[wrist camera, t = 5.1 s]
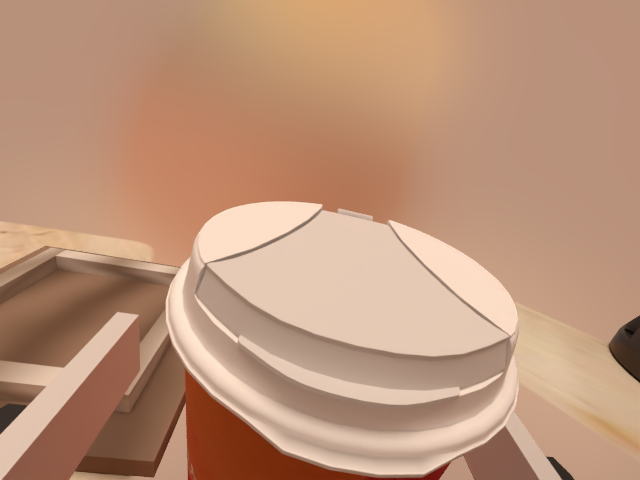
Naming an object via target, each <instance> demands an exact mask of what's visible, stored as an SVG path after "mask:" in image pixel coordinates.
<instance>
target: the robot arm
mask: <svg viewBox="0 0 640 480" xmlns="http://www.w3.org/2000/svg"><path fill="white" fill-rule="evenodd" d="M610 349H611V351H612V353H613V354H614V356H615V357H616V358H617V360H618V361H619V362H620V363H621V364H622V365H623V366H624V367H625V368H626V369H627V370H628V371H629V372H630V373H632V374H633V375H634V376H635V377H636V378H638V379H639V380H640V316H638V317H636V318H635V319H633V320H632V321H630V322H628V323H627V324H625V325H624V326H622V327H621V328H620V329H619V330H618V332H617V333H616V335H615V336H614V337H613V339H612V340H611V342H610ZM139 371H140V339H139V315H136V314H129V313H121V312H117V313H116V314H115V315H114V316H113V317H112V318H111V319H110V320H109V321H108V322H107V323H106V324H105V326H104V327H103V328H102V329H101V330H100V331H99V332H98V333H97V334H96V335H95V336H94V337H93V338H92V339H91V340H90V341H89V342H88V343H87V344H86V345H85V346H84V348H83V349H82V350H81V351H80V352H79V353H78V354H77V355H76V356H75V357H74V358H73V359H72V360H71V361H70V362H69V363H68V364H67V365H66V366H65V367H64V369H63V370H62V371H61V372H60V373H59V374H58V375H57V376H56V377H55V378H54V379H53V380H52V381H51V382H50V383H49V384H48V385H47V386H46V387H45V388H44V389H43V391H42V392H41V393H40V394H39V395H38V396H37V397H36V398H35V399H34V400H33V401H32V402H31V403H30V404H29V405H19V404H10V403H8V404H6V405H5V406H3V407H2V408H0V480H69V479H70V477H71V476H72V474H73V473H74V471H75V470H76V468H77V467H78V465H79V463H80V462H81V460H82V459H83V457H84V456H85V454H86V453H87V451H88V450H89V448H90V447H91V445H92V443H93V442H94V440H95V439H96V437H97V436H98V434H99V433H100V431H101V430H102V428H103V427H104V425H105V423H106V422H107V420H108V419H109V417H110V416H111V414H112V413H113V411H114V410H115V408H116V407H117V405H118V403H119V402H120V400H121V399H122V397H123V396H124V394H125V393H126V391H127V390H128V388H129V387H130V385H131V383H132V382H133V380H134V379H135V377H136V376H137V374H138V373H139ZM463 456H464V458H465V460H466V462H467V464H468V467H469V469H470V471H471V473H472V475H473V477H474V479H475V480H574V479H573V477H572V476H571V475H570V474H569V473H568V472H567V471H566V470H565V469H564V468H563V467H562V466H561V465H560V464H559V463H558V462H557V461H556V460H555V459H554V458H553V457H546V456H545V455H544V453H543V452H542V450H541V449H540V447H539V446H538V445H537V443H536V442H535V440H534V439H533V437H532V436H531V435H530V433H529V432H528V431H527V429H526V427H525V426H524V425H523V423H522V422H521V420H520V419H519V417H518V416H517V415H516V413H515V412H514V410H513V412H512V414H511V416H510V418H509V419H508V421H507V423H506V425H505V427H504V428H503V429H502V430H501V431H500V432H499V433H498V434H497V435H495V436H494V437H493V438H492V439H491V440H490V441H489V442H488V443H487V444H486V445H484V446H482V447H480V448H478V449H476V450H474V451H471V452H469V453H467V454H465V455H463Z"/></svg>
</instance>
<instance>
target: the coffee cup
mask: <svg viewBox="0 0 640 480" xmlns="http://www.w3.org/2000/svg"><path fill="white" fill-rule="evenodd" d="M372 219H373V217H372V216H369V215H364V214H360V213H355V212H351V211H347V210H342V209H338V213H333V212H328V211H323V210H322V205H321V204H313V203H303V202H261V203H253V204H247V205H242V206H238V207H234V208H231V209H228V210H225V211H223V212H221V213H219V214H217V215H216V216H214V217H213V218H211V219H210V220H209V221H208V222H207V223H206V224H205V225H204V227H203V228H202V229H201V230H200V232H199V234H198V235H197V237H196V238H195V241H194V244H193V248H192V253H191V257H190V258H189V259H188V260H187V261H186V262H185V263H184V264H183V265H182V267H181V269H180V270H179V271H178V273H177V274H176V276H175V278H174V279H173V281H172V283H171V284H170V288H169V291H168V295H167V298H166V326H167V329H168V332H169V336H170V339H171V342H172V346H173V348H174V349H175V351H176V353H177V354H178V356H179V358H180V360H181V361H182V363H183V365H184V366H185V390H186V422H187V423H186V425H187V459H188V480H439V479H440V477H441V475H442V474H443V473H444V471H445V470H446V469H447V467H448V466H449V464H450V463H451V461H453V460H455V459H457V458H459V457H461V456H463V455H465V454H467V453H469V452H471V451H474V450H476V449H478V448H480V447H482V446H484V445H486V444H487V443H488V442H489V441H490V440H491V439H492V438H493V437H494V436H495V435H497V434H498V433H499V432H500V431H501V430H502V429H503V428H504V427H505V425H506V423H507V421H508V419H509V418H510V416H511V414H512V412H513V410H514V408H515V407H516V402H517V395H518V389H519V383H518V374H517V366H516V359H515V356H514V354H513V352H514V349H515V346H516V342H517V337H518V333H519V323H518V317H517V311H516V306H515V304H514V302H513V300H512V298H511V297H510V295H509V293H508V292H507V291H506V289H505V288H504V287H503V285H502V284H501V283H500V282H499V281H498V280H497V279H496V278H495V277H494V276H493V275H492V274H491V273H490V272H489V271H487V270H486V269H485V268H483V267H482V266H481V265H480V264H478V263H477V262H476V261H474V260H473V259H471V258H469V257H468V256H467V255H465V254H463V253H462V252H460V251H458V250H457V249H455V248H453V247H451V246H450V245H448V244H446V243H444V242H442V241H440V240H438V239H436V238H434V237H432V236H429V235H427V234H425V233H423V232H420V231H418V230H415V229H413V228H410V227H408V226H405V225H403V224H400V223H397V222H394V221H391V220H388V222H387V224H386V225H384V224H380V223H377V222H372Z"/></svg>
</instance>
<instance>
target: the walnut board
mask: <svg viewBox="0 0 640 480" xmlns="http://www.w3.org/2000/svg"><path fill="white" fill-rule="evenodd" d="M180 269H181V267H176V266H169V265H163V264H157V263H151V262H144V261H138V260H132V259H125V258H119V257H113V256H106V255H100V254H94V253H87V252H81V251H75V250H68V249H62V248H56V247H49V246H45V247H43V248H41V249H39V250H37V251H35V252H33V253H31V254H29V255H27V256H25V257H23V258H21V259H19V260H17V261H15V262H13V263H11V264H9V265H7V266H5V267H3V268H1V269H0V408H2V407H3V406H5V405H6V404H8V403H10V404H19V405H29V404H30V403H31V402H32V401H33V400H34V399H35V398H36V397H37V396H38V395H39V394H40V393H41V392H42V391H43V389H44V388H45V387H46V386H47V385H48V384H49V383H50V382H51V381H52V380H53V379H54V378H55V377H56V376H57V375H58V374H59V373H60V372H61V371H62V370H63V369H64V367H65V366H66V365H67V364H68V363H69V362H70V361H71V360H72V359H73V358H74V357H75V356H76V355H77V354H78V353H79V352H80V351H81V350H82V349H83V348H84V346H85V345H86V344H87V343H88V342H89V341H90V340H91V339H92V338H93V337H94V336H95V335H96V334H97V333H98V332H99V331H100V330H101V329H102V328H103V327H104V326H105V324H106V323H107V322H108V321H109V320H110V319H111V318H112V317H113V316H114V315H115V314H116V313H117V312H121V313H129V314H136V315H139V339H140V371H139V373H138V374H137V376H136V377H135V379H134V380H133V382H132V383H131V385H130V387H129V388H128V390H127V391H126V393H125V394H124V396H123V397H122V399H121V400H120V402H119V403H118V405H117V407H116V408H115V410H114V411H113V413H112V414H111V416H110V417H109V419H108V420H107V422H106V423H105V425H104V427H103V428H102V430H101V431H100V433H99V434H98V436H97V437H96V439H95V440H94V442H93V443H92V445H91V447H90V448H89V450H88V451H87V453H86V454H85V456H84V457H83V459H82V460H81V462H80V463H79V465H78V467H77V468H76V470H75V471H83V472H95V473H107V474H119V475H131V476H144V477H154V476H155V473H156V471H157V468H158V466H159V464H160V462H161V459H162V457H163V454H164V452H165V450H166V447H167V445H168V443H169V440H170V438H171V436H172V433H173V431H174V428H175V426H176V424H177V421H178V419H179V416H180V414H181V412H182V410H183V407H184V405H185V402H186V390H185V366H184V365H183V363H182V361H181V360H180V358H179V356H178V354H177V353H176V351H175V349H174V348H173V346H172V342H171V339H170V336H169V332H168V329H167V326H166V298H167V295H168V291H169V288H170V284H171V283H172V281H173V279H174V278H175V276H176V274H177V273H178V271H179V270H180Z"/></svg>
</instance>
